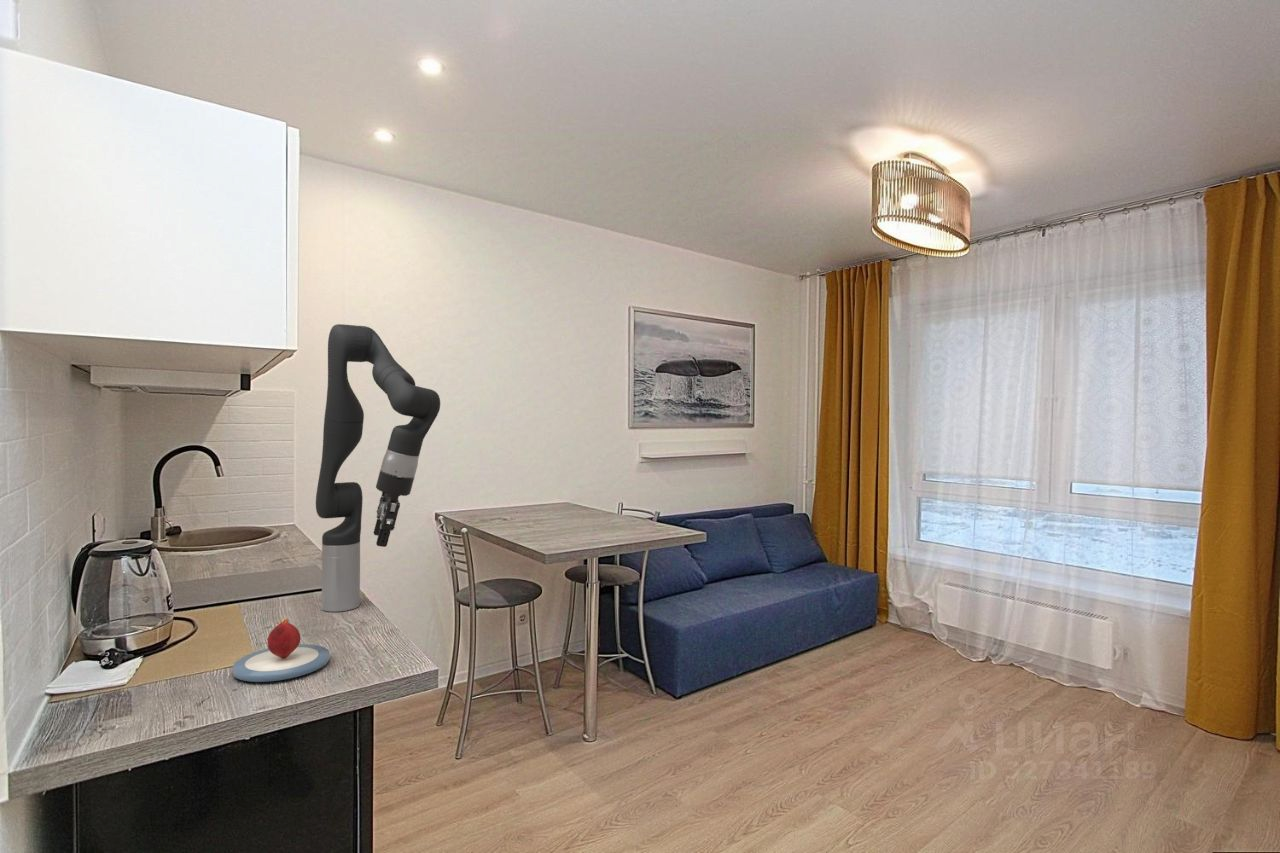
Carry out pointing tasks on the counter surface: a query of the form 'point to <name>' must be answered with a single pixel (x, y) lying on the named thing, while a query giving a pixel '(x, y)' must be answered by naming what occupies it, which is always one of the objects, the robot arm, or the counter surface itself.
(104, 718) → the counter surface
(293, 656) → the dish
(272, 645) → the onion
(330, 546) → the robot arm
